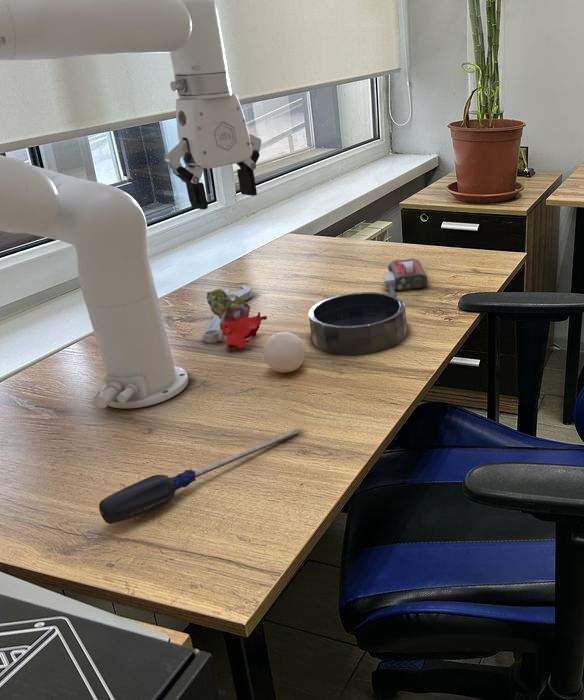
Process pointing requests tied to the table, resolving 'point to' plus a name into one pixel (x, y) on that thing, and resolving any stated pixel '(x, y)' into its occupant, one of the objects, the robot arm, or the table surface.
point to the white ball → (284, 352)
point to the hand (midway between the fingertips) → (225, 201)
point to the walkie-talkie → (404, 275)
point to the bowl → (358, 323)
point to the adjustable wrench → (214, 326)
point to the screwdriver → (161, 488)
